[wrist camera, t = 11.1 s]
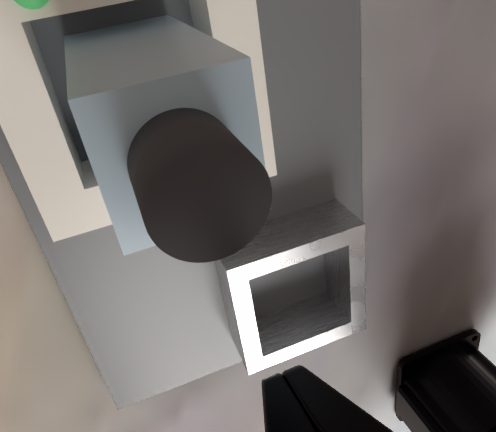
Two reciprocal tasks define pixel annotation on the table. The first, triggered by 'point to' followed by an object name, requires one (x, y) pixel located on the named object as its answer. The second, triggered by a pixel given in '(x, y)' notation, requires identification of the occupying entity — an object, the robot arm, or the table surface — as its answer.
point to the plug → (170, 136)
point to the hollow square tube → (305, 311)
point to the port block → (53, 120)
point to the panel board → (283, 202)
